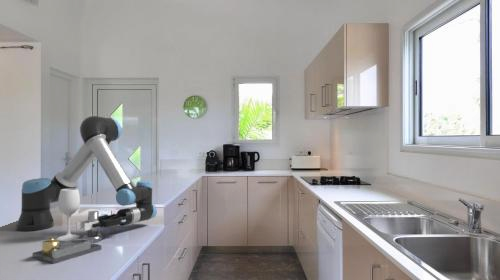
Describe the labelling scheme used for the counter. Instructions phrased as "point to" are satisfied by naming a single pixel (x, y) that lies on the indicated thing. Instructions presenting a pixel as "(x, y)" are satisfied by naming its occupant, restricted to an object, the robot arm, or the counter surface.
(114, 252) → the counter surface
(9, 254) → the counter surface
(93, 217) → the flanged metal post
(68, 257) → the carrier plate
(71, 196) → the wineglass
